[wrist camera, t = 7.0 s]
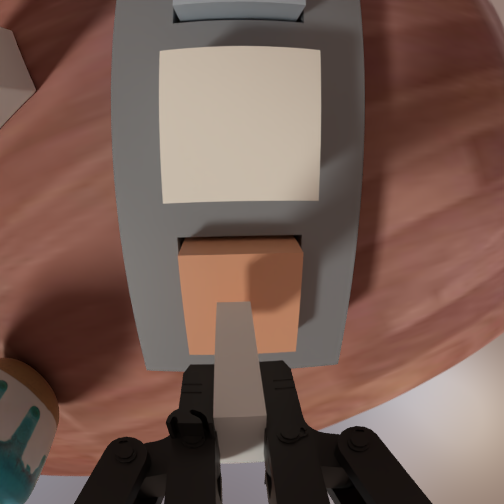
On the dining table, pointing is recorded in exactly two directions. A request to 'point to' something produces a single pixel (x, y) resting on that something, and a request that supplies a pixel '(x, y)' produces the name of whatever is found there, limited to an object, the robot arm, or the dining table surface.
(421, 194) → the dining table surface
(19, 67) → the milk carton
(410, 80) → the dining table surface
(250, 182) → the key ivory
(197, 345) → the key rust
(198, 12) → the key slate
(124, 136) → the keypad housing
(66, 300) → the dining table surface
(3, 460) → the vase
